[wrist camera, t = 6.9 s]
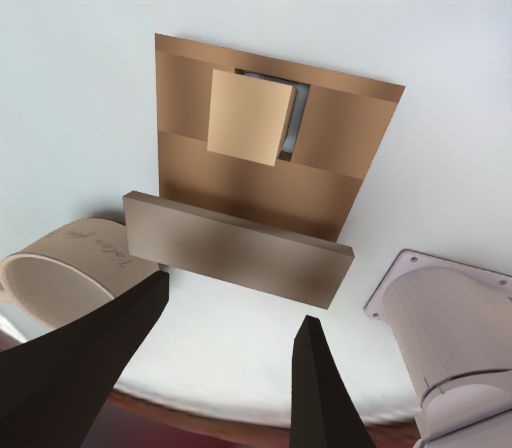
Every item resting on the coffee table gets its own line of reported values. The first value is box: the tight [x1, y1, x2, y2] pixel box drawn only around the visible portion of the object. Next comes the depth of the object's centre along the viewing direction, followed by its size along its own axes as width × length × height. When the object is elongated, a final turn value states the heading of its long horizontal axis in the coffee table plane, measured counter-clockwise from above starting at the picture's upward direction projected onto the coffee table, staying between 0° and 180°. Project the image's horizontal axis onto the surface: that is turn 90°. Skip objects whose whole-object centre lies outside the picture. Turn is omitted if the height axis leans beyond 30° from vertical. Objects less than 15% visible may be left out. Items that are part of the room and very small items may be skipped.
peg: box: [207, 69, 298, 166], centre depth 13 cm, size 3×3×8 cm
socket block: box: [123, 33, 406, 310], centre depth 15 cm, size 14×13×6 cm
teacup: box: [0, 218, 159, 331], centre depth 22 cm, size 14×11×8 cm
